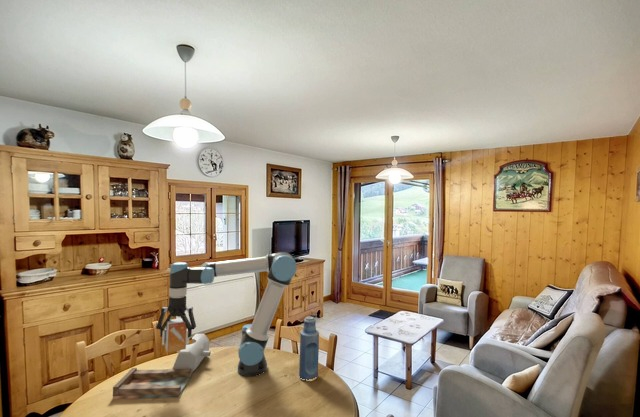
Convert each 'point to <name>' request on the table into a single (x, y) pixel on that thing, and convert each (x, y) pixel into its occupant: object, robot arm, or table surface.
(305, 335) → the bottle
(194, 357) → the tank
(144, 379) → the board
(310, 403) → the table surface
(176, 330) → the small box
